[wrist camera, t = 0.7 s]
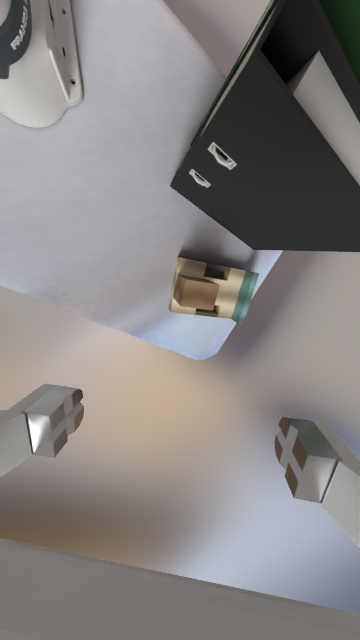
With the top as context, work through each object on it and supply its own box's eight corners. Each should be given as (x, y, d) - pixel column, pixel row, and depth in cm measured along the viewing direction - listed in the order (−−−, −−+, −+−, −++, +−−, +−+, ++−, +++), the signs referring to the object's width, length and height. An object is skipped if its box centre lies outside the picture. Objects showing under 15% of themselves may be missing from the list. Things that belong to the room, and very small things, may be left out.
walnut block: (177, 274, 47) (185, 279, 39) (206, 279, 49) (219, 284, 42) (173, 297, 48) (180, 306, 41) (201, 301, 51) (213, 310, 44)
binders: (283, 203, 50) (495, 143, 21) (250, 254, 53) (396, 263, 24) (203, 120, 39) (402, -233, 10) (168, 188, 42) (248, 63, 13)
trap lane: (177, 257, 48) (184, 258, 42) (244, 270, 54) (259, 273, 47) (168, 308, 52) (173, 317, 46) (230, 315, 58) (243, 324, 52)
